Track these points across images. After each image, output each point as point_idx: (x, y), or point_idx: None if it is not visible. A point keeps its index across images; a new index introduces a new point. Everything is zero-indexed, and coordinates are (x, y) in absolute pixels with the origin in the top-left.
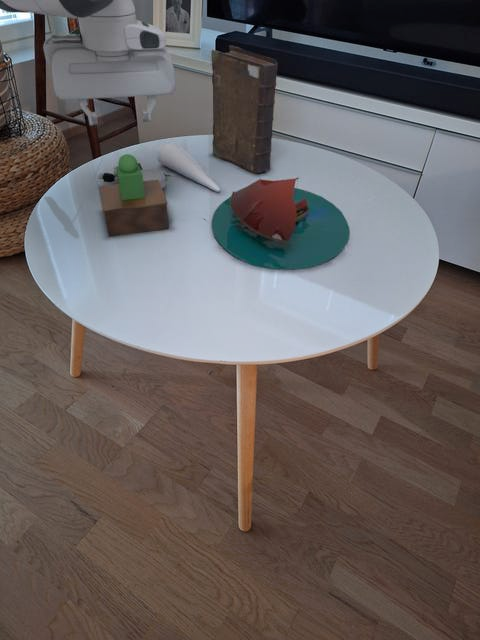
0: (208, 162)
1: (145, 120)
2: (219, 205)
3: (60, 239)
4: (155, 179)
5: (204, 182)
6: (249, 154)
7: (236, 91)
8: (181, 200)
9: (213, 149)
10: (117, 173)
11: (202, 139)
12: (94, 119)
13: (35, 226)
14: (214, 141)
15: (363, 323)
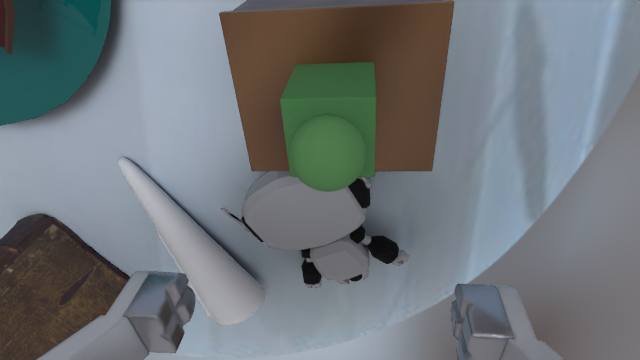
0: None
1: (167, 274)
2: (95, 63)
3: (577, 4)
4: (266, 194)
5: (156, 192)
6: (40, 257)
7: None
8: (216, 142)
9: None
10: (375, 129)
11: (182, 346)
12: (486, 311)
13: (618, 94)
14: None
15: None
